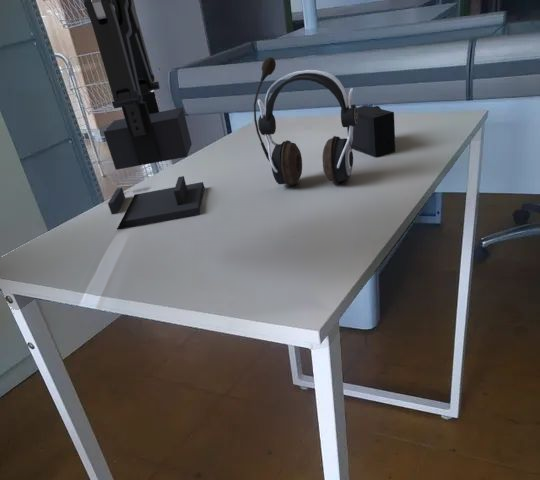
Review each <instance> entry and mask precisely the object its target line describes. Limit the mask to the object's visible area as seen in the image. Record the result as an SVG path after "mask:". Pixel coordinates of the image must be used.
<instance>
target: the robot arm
mask: <svg viewBox="0 0 540 480" xmlns="http://www.w3.org/2000/svg"><path fill="white" fill-rule="evenodd" d="M83 6H84V8H85V10H86V12H87V15H88V18H89V20H90V24H91V26H92V29H93V34H94V36H95V40H96V43H97V47H98V50H99V54H100V57H101V60H102V63H103V67H104V72H105V74H106V78H107V81H108V84H109V88H110V91H111V95H112V102H111V105H112V107H113V108H114V109H120V108H121V110H122V113H123V116H124V117H123V118H124V119H125V120H126V124H127V127H128V130H129V134H130V137H131V140H132V144H133V147H134V150H135V154H136V157H137V160H138V164H139V165H140V166H142V165H141V164H145V165H147V164H146V163H151V164H153V163H152V162H156V163H158V162H157V161H161V156H160V152H159V149H158V145H157V142H156V138H155V134H154V131H153V127H152V123H151V119H150V116H149V114H152V113H157V112H161V111H160V107H159V104H158V100H157V96H156V91H157V90H160V89H161V88H160V82H159V81H155V79H156V77H155V75H154V72H153V69H152V66H151V62H150V58H149V55H148V51H147V47H146V43H145V39H144V37H143V36H144V35H143V32H142V29H141V25H140V21H139V18H138V14H137V10H136V4H135V0H83Z"/></svg>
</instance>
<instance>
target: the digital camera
mask: <svg viewBox="0 0 540 480" xmlns="http://www.w3.org/2000/svg"><path fill="white" fill-rule="evenodd" d="M356 107H357V110H358V122H357V124H356V126H354V127H353V140H352V144H351V148H352V150H355V151H358V152H361V153H363V154H367V155H369V156H371V157H374V158H379V157H381V156H384V155H387V154H391V153H395V152H396V133H395V132H396V130H395V128H396V127H395V125H396V124H395V112H394V111H391V110H386V109H384V108H383V109H382V108H381V107H380V106H379V105H374V106H371V105H370V106H369V105H365V104H364V105H361V106H356ZM346 130H347V135H348V134H349V127H346ZM349 142H350V141H349Z"/></svg>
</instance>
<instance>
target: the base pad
mask: <svg viewBox="0 0 540 480" xmlns="http://www.w3.org/2000/svg"><path fill="white" fill-rule="evenodd" d="M204 193H205V185H204V182H203V181H199V182H196V183H190V184H187V183H186V180H185V176H184V175H182V176H178V178H177V180H176V183H175V186H174V187H169V188H163V189H157V190H152V191H147V192H146V191H145V192H141V193H136V194H134V195H133V196H132V198H131V201H130V202H129V204H128V206H127V209H126V210H125V213H124V214H123V216H122V218H121V220H120V222H119V224H118V225H117V228H116V230H122V229H127V228H132V227H139V226H144V225H150V224H154V223H160V222H161V223H162V222H167V221H171V220H177V219H184V218H189V217H193V216H199V215H200V214H201V208H202V202H203V198H204ZM125 200H126V196H125V192H124V189H123V187H117V188H116V190H114V192H113V194H112V196H111V197H110V200H108V202H107V205H108V208H109V211H110V214H111V215H117V214H118V213H119V212H120V209H121V207H122V206H123V203H124V202H125Z"/></svg>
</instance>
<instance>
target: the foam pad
mask: <svg viewBox="0 0 540 480" xmlns="http://www.w3.org/2000/svg"><path fill="white" fill-rule="evenodd" d="M149 116H150V119H151V123H152V127H153V131H154V134H155V138H156V142H157V145H158V149H159V152H160V156H161V161H157V162H152V163H146V164H141V165H139V164H138V160H137V157H136V154H135V150H134V147H133V144H132V140H131V137H130V134H129V130H128V127H127V124H126V120H125V118H122V119H115V120H113V121H112V122H111V123H110V124H109V125H108V126H107V127H106V128H105V129H104V130H103V135H104V138H105V142H106V144H107V147H108V150H109V151H108V152H109V154H110V157H111V160H112V164H113V166H114V169H115V170H116V171H117V170H122V169H128V168H134V167H139V166H144V165H149V164H155V163H161V162H166V161H167V162H168V161H173V160H177V159H178V160H179V159H183V158H187V157H188V155H189V153H190V150H191V147H192V146H193V145H192V139H191V135H190V130H189V127H188V122H187V119H186V114H185V111H184V108H183V107H179V108H173V109H168V110H163V111H160V112H157V113H152V114H149Z"/></svg>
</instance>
